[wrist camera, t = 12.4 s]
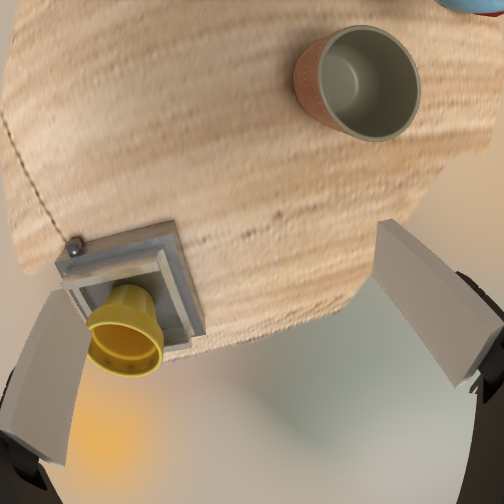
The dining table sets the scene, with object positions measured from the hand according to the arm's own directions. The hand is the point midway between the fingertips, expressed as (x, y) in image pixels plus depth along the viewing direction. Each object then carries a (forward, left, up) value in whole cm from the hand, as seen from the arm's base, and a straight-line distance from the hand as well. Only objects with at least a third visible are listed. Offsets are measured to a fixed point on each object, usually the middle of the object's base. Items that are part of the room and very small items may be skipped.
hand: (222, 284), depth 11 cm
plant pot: (+17, -15, -23) cm, 32 cm away
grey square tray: (+17, -15, -27) cm, 35 cm away
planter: (-7, +17, -27) cm, 33 cm away
